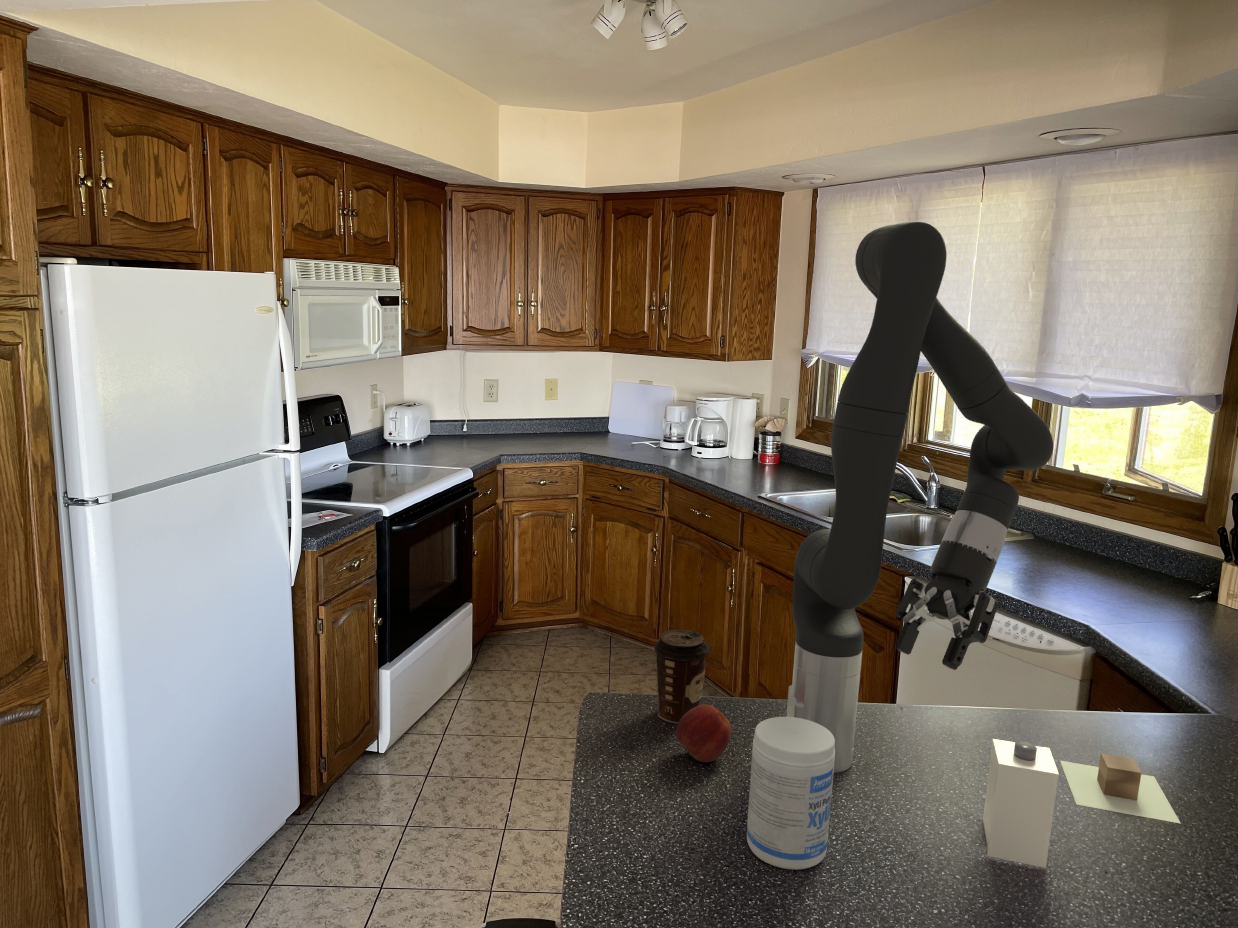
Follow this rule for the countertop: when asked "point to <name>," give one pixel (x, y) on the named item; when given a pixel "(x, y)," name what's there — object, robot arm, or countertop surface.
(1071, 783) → the mat
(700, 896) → the countertop surface
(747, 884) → the countertop surface
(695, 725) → the apple
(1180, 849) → the countertop surface
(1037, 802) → the cover
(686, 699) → the coffee cup
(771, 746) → the supplement tub
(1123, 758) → the block
